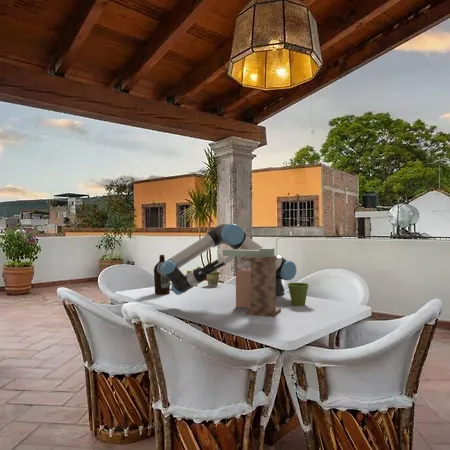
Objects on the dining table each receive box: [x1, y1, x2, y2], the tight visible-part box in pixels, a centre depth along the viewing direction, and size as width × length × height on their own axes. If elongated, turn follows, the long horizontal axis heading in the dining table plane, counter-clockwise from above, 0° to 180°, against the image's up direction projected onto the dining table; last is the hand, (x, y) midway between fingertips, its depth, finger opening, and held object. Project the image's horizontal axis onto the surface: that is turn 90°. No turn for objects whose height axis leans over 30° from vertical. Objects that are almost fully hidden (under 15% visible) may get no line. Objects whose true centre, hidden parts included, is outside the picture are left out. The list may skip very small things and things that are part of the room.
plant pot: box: [286, 282, 310, 307], centre depth 207 cm, size 12×12×11 cm
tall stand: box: [240, 255, 282, 318], centre depth 189 cm, size 16×14×28 cm
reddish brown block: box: [235, 268, 251, 309], centre depth 207 cm, size 14×14×19 cm
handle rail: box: [222, 247, 276, 257], centre depth 192 cm, size 26×6×4 cm, turn 68°
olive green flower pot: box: [206, 270, 223, 287], centre depth 278 cm, size 13×10×10 cm
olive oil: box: [153, 254, 171, 296], centre depth 246 cm, size 11×11×25 cm
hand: (229, 257), depth 195 cm, fingers open, 13 cm apart
